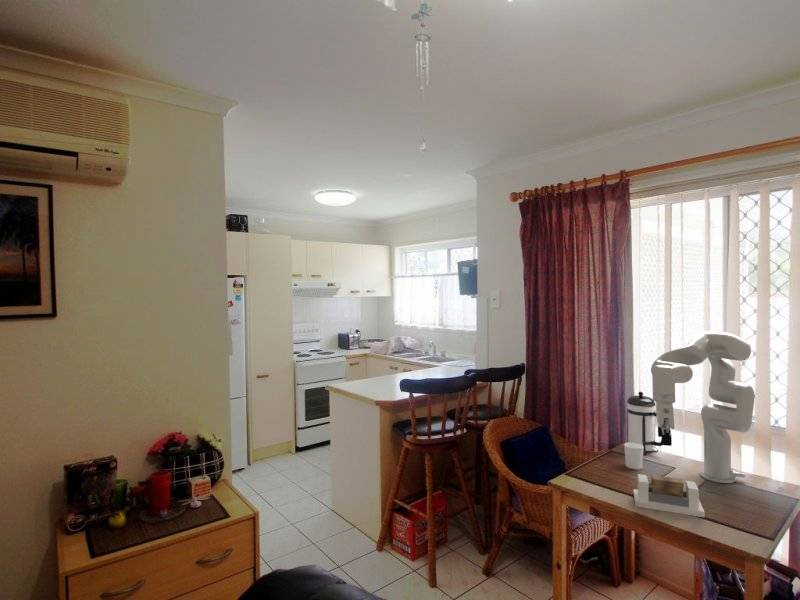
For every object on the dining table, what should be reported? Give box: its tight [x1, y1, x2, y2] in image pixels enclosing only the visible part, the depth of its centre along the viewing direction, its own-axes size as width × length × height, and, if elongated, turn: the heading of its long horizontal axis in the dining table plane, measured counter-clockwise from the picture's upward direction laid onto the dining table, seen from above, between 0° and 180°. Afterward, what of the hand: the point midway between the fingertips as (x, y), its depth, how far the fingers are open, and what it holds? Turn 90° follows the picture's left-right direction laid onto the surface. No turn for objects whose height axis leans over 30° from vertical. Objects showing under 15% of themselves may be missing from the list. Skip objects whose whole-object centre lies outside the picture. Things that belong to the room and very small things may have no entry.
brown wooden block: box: [650, 474, 684, 497], centre depth 169 cm, size 10×4×8 cm, turn 66°
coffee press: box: [626, 391, 664, 456], centre depth 225 cm, size 17×16×30 cm
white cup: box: [623, 442, 644, 470], centre depth 206 cm, size 8×8×10 cm
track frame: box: [633, 473, 706, 518], centre depth 169 cm, size 22×11×9 cm, turn 66°
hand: (664, 440), depth 173 cm, fingers open, 9 cm apart
